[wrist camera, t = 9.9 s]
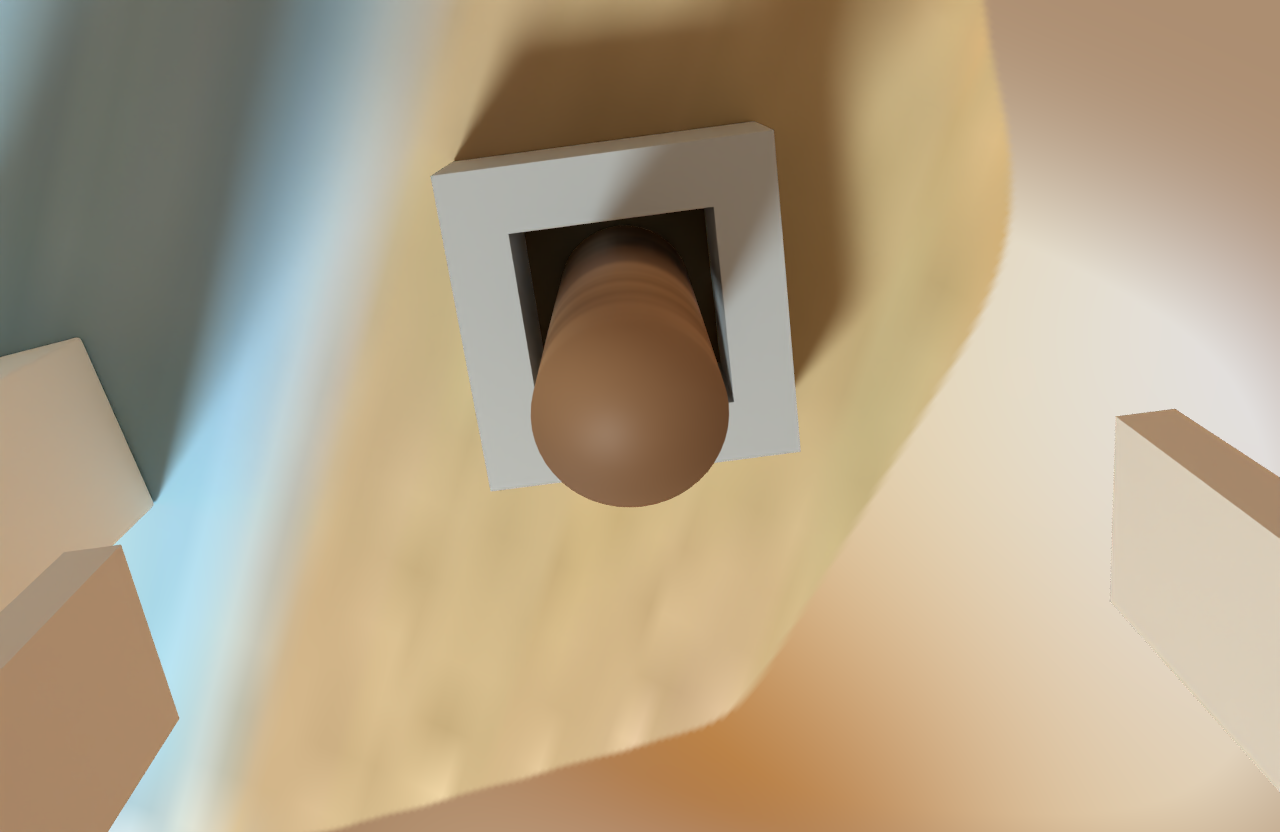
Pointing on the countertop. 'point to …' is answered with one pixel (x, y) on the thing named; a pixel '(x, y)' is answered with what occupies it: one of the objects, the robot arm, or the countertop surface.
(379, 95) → the countertop surface
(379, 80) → the countertop surface
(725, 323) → the socket block
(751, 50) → the countertop surface
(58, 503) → the milk
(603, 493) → the peg
